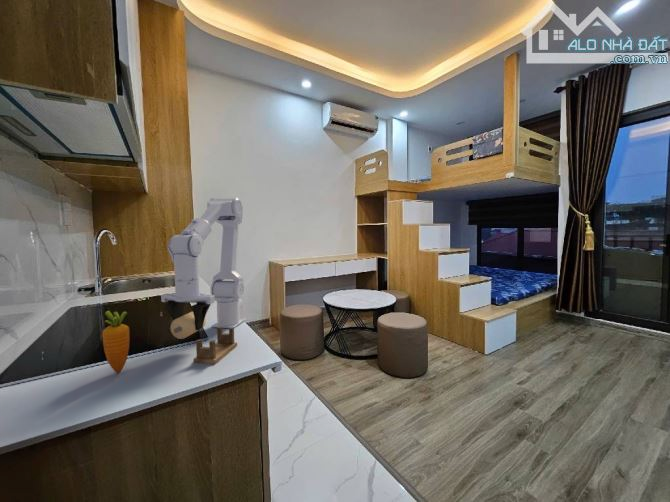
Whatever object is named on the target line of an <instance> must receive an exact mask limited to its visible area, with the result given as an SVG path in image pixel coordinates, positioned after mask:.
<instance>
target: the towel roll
mask: <svg viewBox="0 0 670 502" xmlns="http://www.w3.org/2000/svg"><path fill="white" fill-rule="evenodd" d="M206 323H207V319H206V317H205V319H204V323H203V328H204V327H205V326H206ZM203 328H201V329H200V330H202V329H203ZM198 331H199V330H196V328H195V318H194V314H193V311H190V312H188V313H185V314H183V316H181V317H179V318H177V319H175V320H174V321H173V320H172V321H171V323H170V332H171V334H172V335H173V336H174V337H175V338H176V339H178V340H179V339H180V340H182V339H183V340H184V339H185V338H188V337H189V336H191V335H193V334H195V333H196V332H198Z"/></svg>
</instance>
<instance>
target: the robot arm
mask: <svg viewBox="0 0 670 502" xmlns="http://www.w3.org/2000/svg"><path fill="white" fill-rule="evenodd" d="M206 205H207V206H206V207H207V208H206V210H205V211H204V212H203V214H202V216H200V218H192V219H191V222H190V223H189V224H188V225H187V226H186V227H185V228H184V230H182V232H181V233H180V234H175V235H173V236H172V237H171V238H170V239H169V241H168V245H167V250H168V253H169V255H170V257H171V259H170V260H171V261H172V263H173V267H174V286H175V287H174V288H175V289H174V290H175V292H174V293H173V292H172V293H164V294H161V296H160V297H161V302H162V303H166V304H164V309H165V310H166V311H167V312H168V314H169V316H170V318H171V319H172V322H173V321H174V320H175V319H177V318H179V317H181V316H184V308H185V305H186V303H191V304H193V303H195V304H193V305H191V306H190V308H191V310H192V311H193V314H194V318H195V328H196V330H198V331H200V330H202V329H203V328H204V327H203V323H204V319H205V318H206V315H207V313H208V311H209V308H210V307H211V306H212V304H214V303H215V301H216V319H217V321H216V323H214V324H213V325H212V326H211V328H218V327H222V329H223V328H224V329H229V328H231V327H232V328H234V329H235V328H236V327H237V326H239V325H240V324H242V323H244V322H245V321H246V320H247V319H246V318H244V302H243V300H242V299H241V298H242V296H243V295H244V293H245V286H244V277H242V275H240V274H239V273H238V272H237V271H236V268H237V267H236V266H237V255H238V254H237V251H238V236H239V235H238V234H239V225H240V224H242V221H243V211H244V209H243V208H244V207H243V204H242V202H241V200H240V198H239V197H231V198H230V197H223V198H222V197H221V198H220V197H219V198H218V197H211V198H210V199H209V200H208V201H207V204H206ZM215 222H216V223H218V224H220V225H221V226H222V239H221V252H220V253H221V254H220V268H219V272H217V273H216V274H215V275H213V277H212V282H211V285H210V290H209V292H210V294H206V293H205V294H204V293H200V278H199V277H200V276H199V275H200V274H199V255H200V254H201V253H202V252H203V247H204V243H205V242H204V241H205V240H206V239H207V238H208V236H209V235H210V233H212V225H213V224H215ZM192 311H191V312H192ZM241 319H242V320H243V321H242V320H241ZM201 328H202V329H201Z"/></svg>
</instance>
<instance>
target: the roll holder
mask: <svg viewBox="0 0 670 502" xmlns="http://www.w3.org/2000/svg"><path fill="white" fill-rule="evenodd" d="M216 330H217V331H216V332H217V333H216V336H217V337H216V338H217V341H216V340H212V339H211V340H210V341H209V342H208V343H209V346H203V339H199V338H198V339H197V340H196V341H195V347H196V356H195V357H193V363H199V364H209V365H210V364H212V365H216V364H218V363H219V362H220V361H221V360H222V359H224V358H225V357H226V356H227V355H228V354H230V353H231V352H232V351H233V350H234V349H236V348H237V347H236V346H238V342H235V328H232V327H231V328H228V333H226V332H225V333H224V332H223V328H222V327H216ZM230 351H231V352H230Z"/></svg>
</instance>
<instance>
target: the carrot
mask: <svg viewBox="0 0 670 502" xmlns="http://www.w3.org/2000/svg"><path fill="white" fill-rule="evenodd" d="M127 314H128V312H127V311H123V312H122V313H121V315H120V314H119V312H118V311H114V312H113V314H112V312H111V311H110V310H107V311H105V313H104V315H105V316H106V317H107V318H108V319H106V320H105V321H104V322H105V323H106V324H109V325H108V326H107V327H105V328H104V329H103V330H102V333H101V335H102V336H101V337H102V338H101V339H102V344H103V345H102V346H103V351H104V354H105V358H106V361H107V363H108V364H109V366H110V368H111V369H112V370H113V371H114V372H115V373H117V374H119V373H121V372H122V370H123V369H124V367H125V364H126V362H127V359H128V356H129V350H130V327H129V326H128V324H127V325H126V324H124V323H122V322H123V320H124V318H125V316H126V315H127Z"/></svg>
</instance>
